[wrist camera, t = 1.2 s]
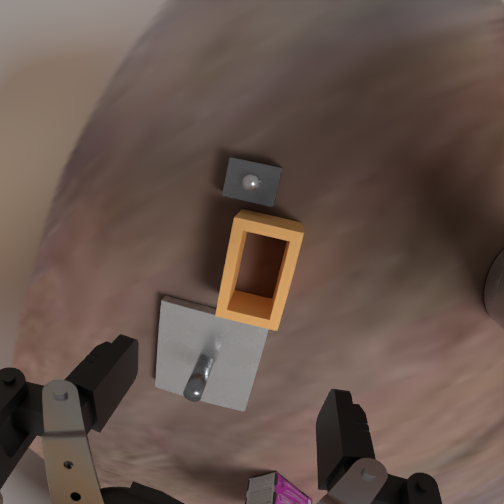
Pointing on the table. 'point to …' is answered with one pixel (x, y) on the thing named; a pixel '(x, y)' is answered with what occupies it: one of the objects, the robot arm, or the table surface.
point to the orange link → (231, 300)
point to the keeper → (206, 354)
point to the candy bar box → (274, 491)
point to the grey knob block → (252, 181)
